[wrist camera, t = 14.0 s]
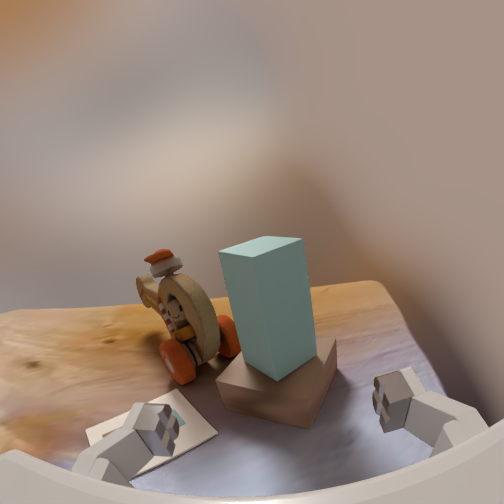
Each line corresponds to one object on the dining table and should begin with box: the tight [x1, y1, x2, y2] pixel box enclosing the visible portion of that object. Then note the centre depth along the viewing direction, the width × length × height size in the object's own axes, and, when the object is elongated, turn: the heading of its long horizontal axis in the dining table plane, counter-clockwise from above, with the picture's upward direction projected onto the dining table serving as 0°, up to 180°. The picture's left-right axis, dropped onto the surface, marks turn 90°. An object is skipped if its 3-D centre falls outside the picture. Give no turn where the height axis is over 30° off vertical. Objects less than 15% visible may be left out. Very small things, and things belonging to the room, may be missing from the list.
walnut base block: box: [215, 337, 337, 429], centre depth 24 cm, size 8×8×4 cm
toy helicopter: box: [136, 249, 241, 385], centre depth 33 cm, size 8×21×14 cm, turn 40°
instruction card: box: [86, 389, 218, 477], centre depth 20 cm, size 8×11×1 cm
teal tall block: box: [218, 236, 317, 381], centre depth 22 cm, size 4×4×10 cm
